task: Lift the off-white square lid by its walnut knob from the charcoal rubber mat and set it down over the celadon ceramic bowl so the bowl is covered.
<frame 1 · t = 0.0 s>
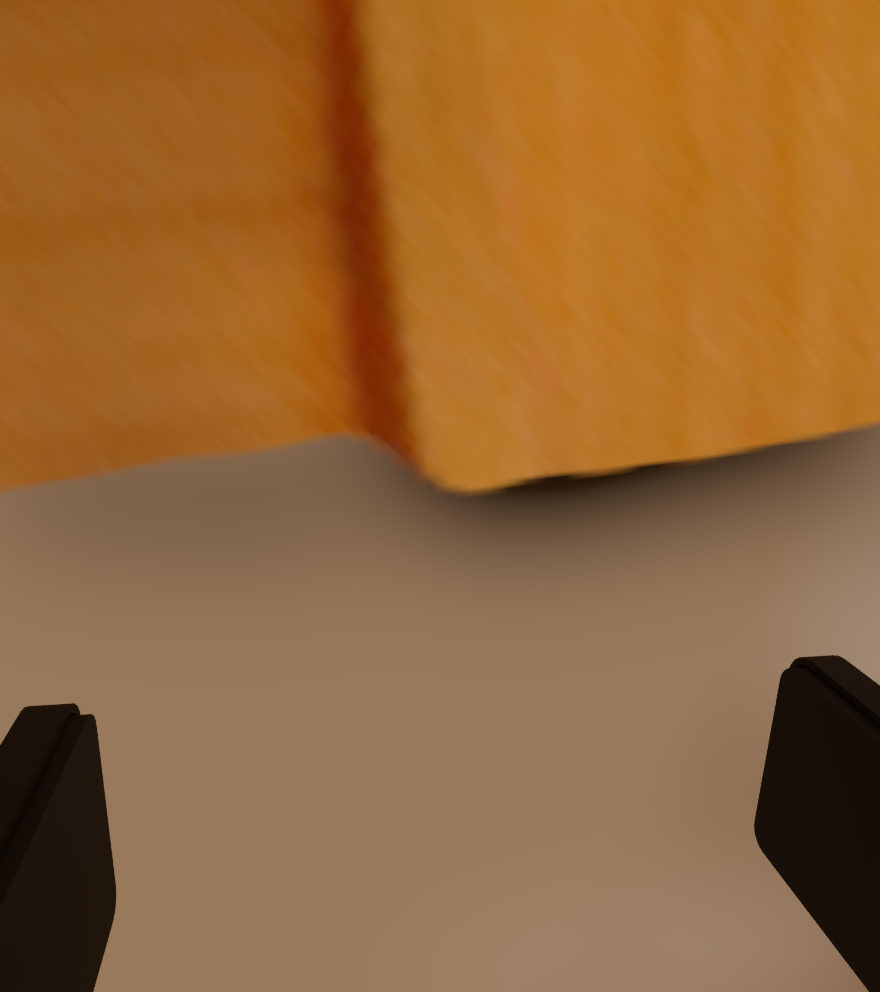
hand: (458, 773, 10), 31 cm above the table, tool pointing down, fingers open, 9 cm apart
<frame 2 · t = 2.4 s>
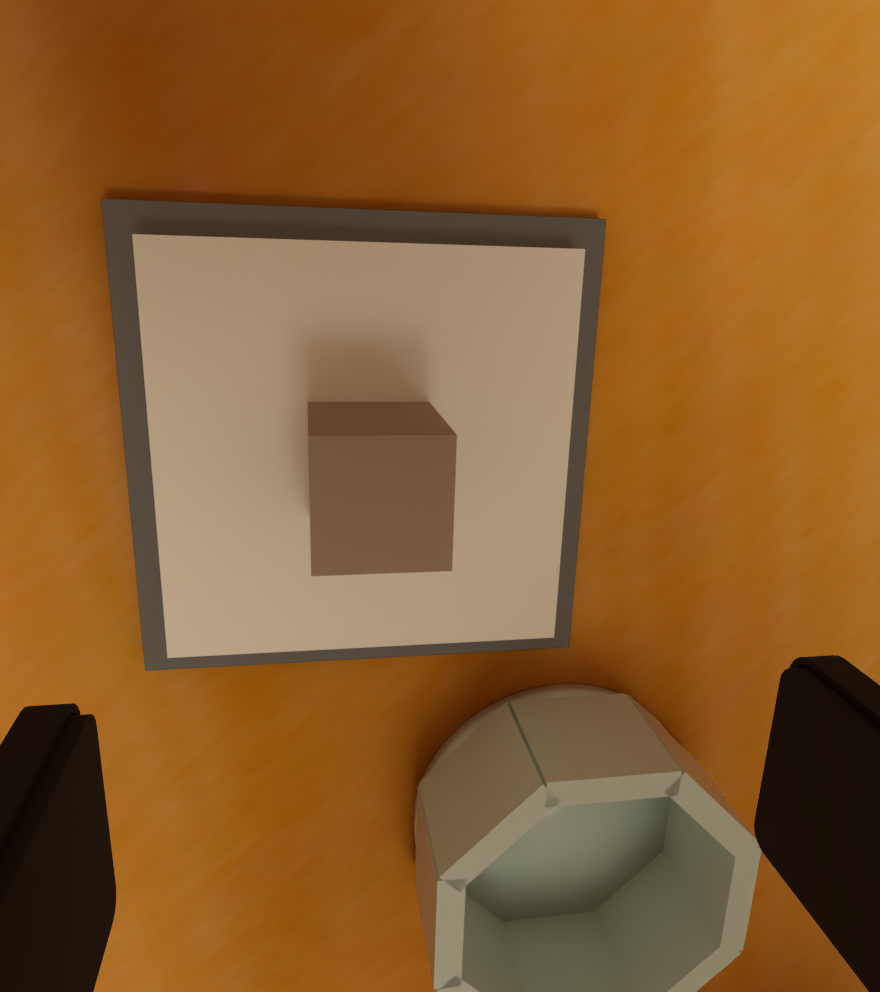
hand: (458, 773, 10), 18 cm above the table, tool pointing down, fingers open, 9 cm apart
lid: (366, 453, 27), point 1 cm above the table, touching mat
bowl: (550, 806, 34), on the table
mat: (365, 449, 28), on the table
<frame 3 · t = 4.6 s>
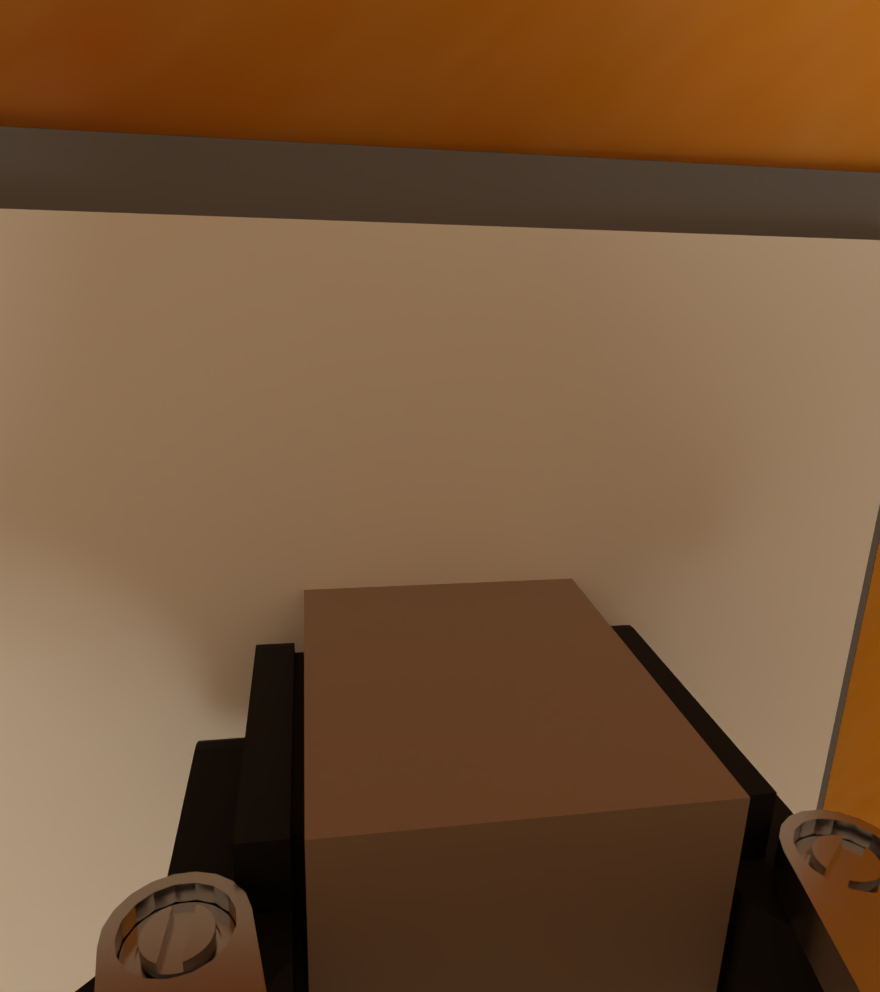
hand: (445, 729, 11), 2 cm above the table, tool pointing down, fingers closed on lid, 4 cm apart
lid: (428, 669, 13), point 1 cm above the table, touching gripper, mat
mat: (423, 652, 14), on the table
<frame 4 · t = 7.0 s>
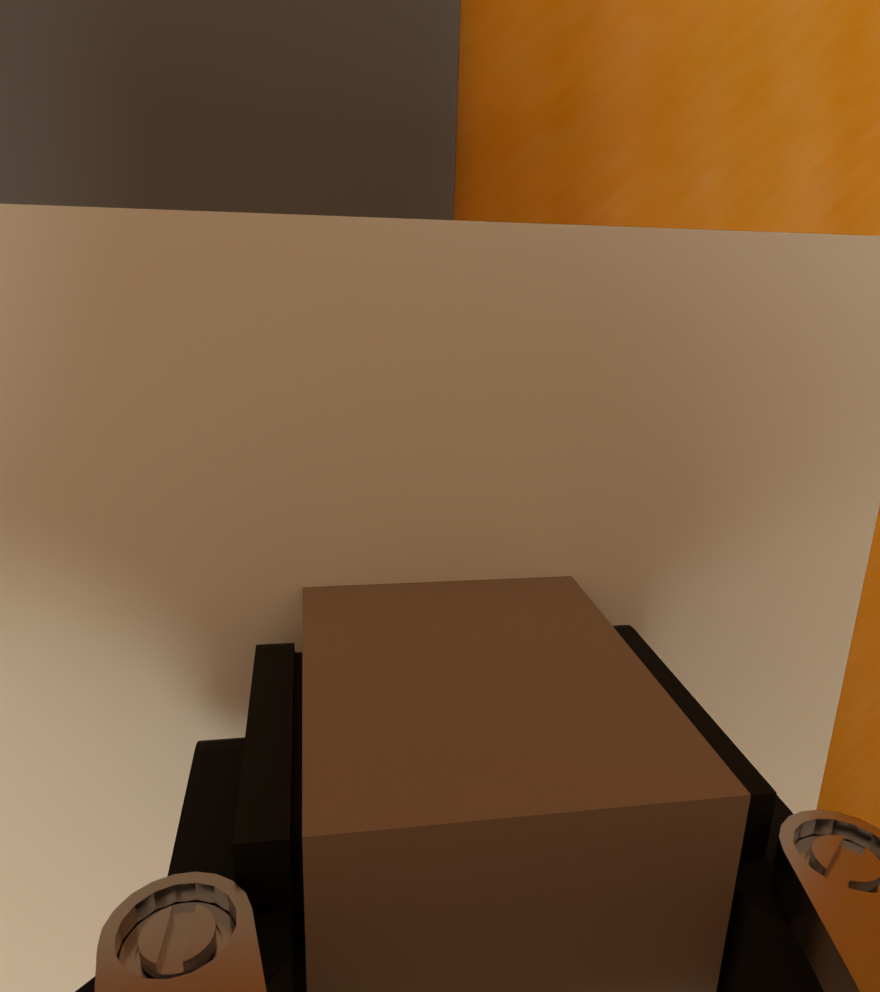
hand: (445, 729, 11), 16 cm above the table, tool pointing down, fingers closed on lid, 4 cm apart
lid: (427, 667, 13), point 15 cm above the table, touching gripper
mat: (184, 123, 23), on the table
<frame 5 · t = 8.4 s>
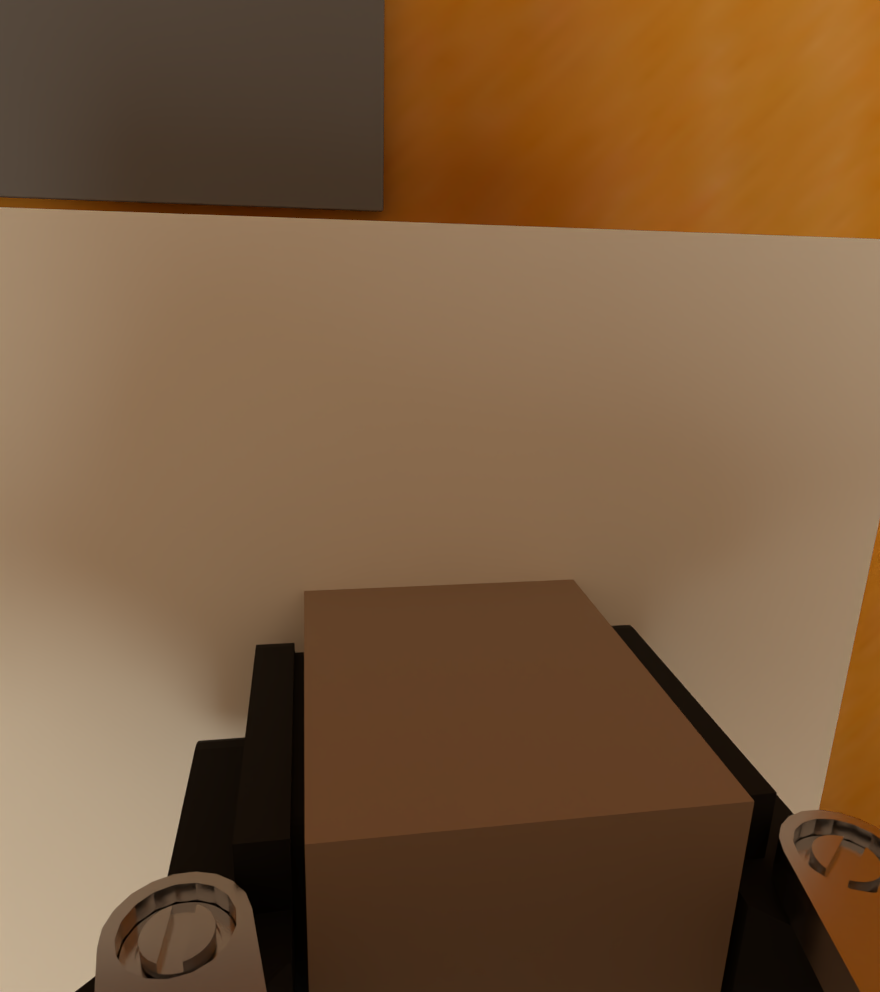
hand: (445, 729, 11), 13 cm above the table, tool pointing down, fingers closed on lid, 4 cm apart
lid: (428, 671, 13), point 11 cm above the table, touching gripper
when the fingers open (10 cm above the table, at t = 9.7 s): lid drops 2 cm, resting on bowl.
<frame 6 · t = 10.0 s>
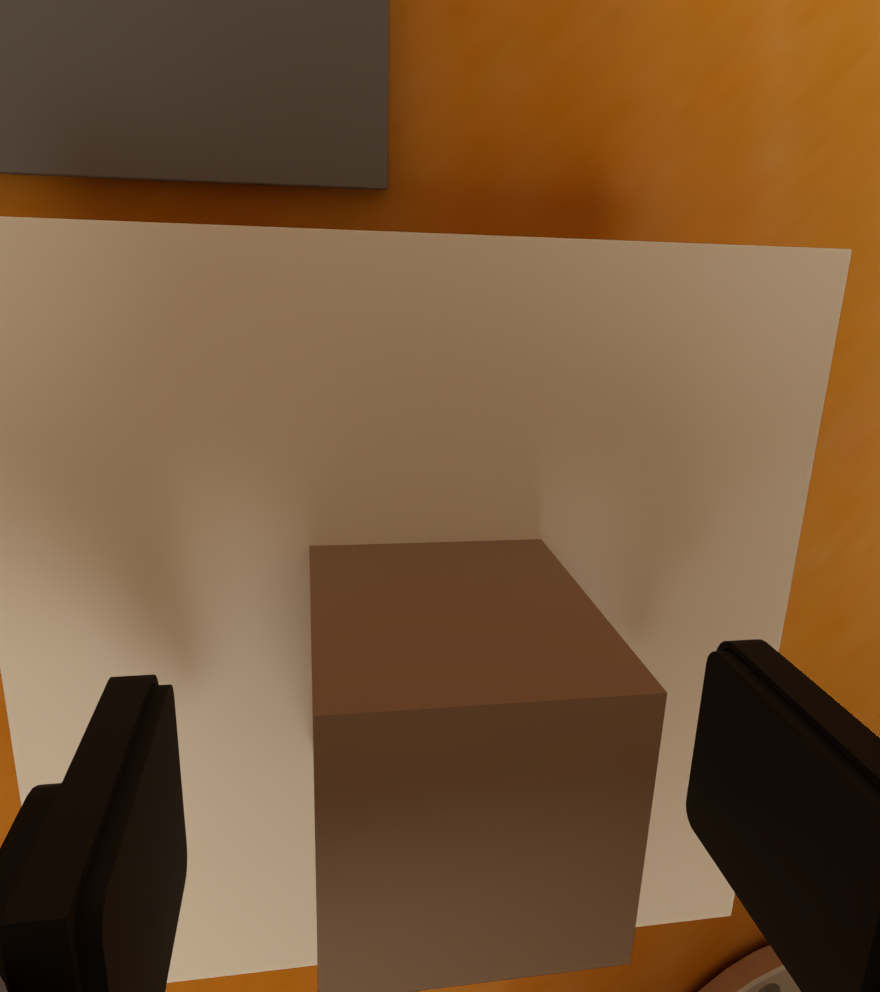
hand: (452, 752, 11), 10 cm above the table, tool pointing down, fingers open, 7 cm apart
lid: (417, 622, 15), point 6 cm above the table, touching bowl
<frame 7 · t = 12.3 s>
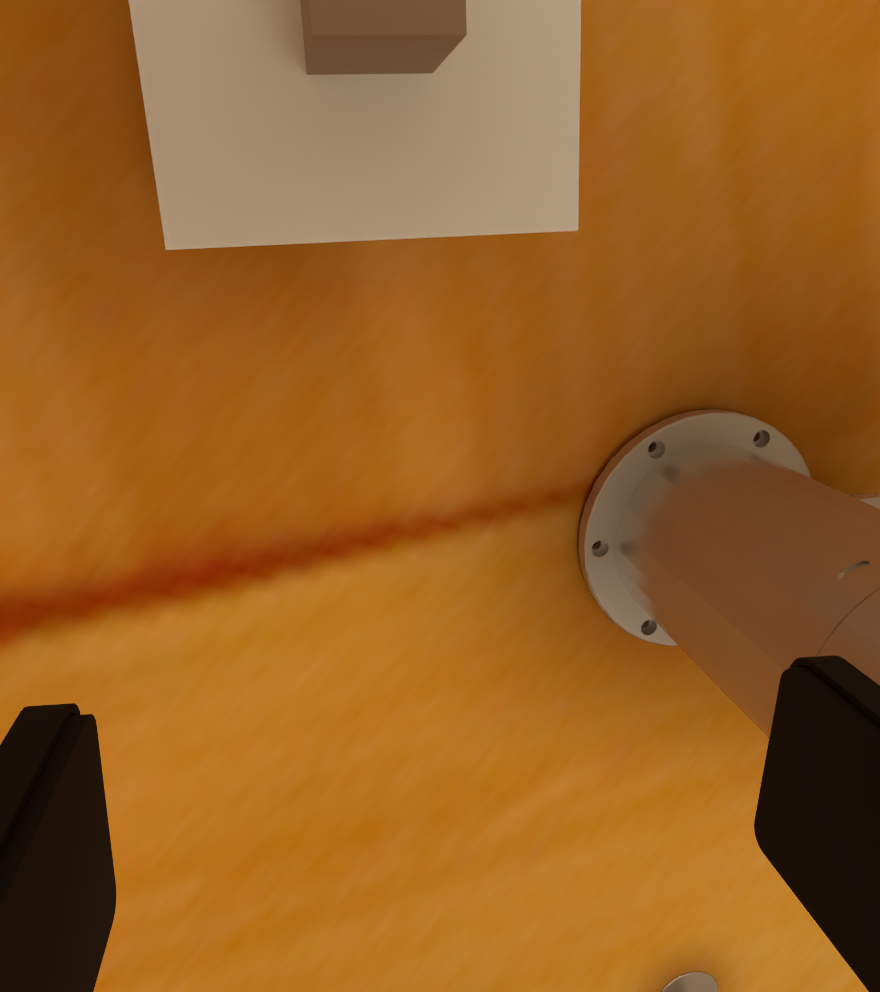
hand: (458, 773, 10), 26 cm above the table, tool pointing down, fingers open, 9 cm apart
lid: (362, 10, 25), point 6 cm above the table, touching bowl
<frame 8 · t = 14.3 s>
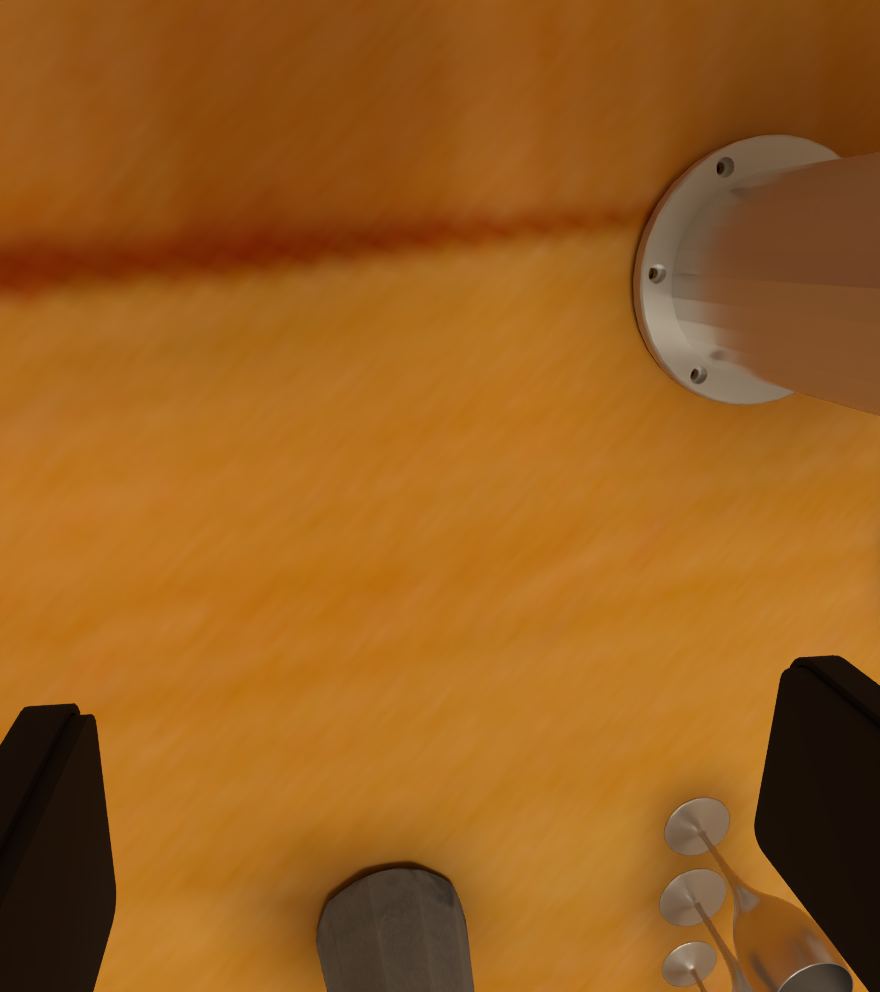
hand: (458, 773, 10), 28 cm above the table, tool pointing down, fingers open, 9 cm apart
moka pot: (383, 918, 47), on the table
goblet set: (687, 963, 53), on the table
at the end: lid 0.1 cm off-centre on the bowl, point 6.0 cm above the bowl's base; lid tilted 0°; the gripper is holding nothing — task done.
